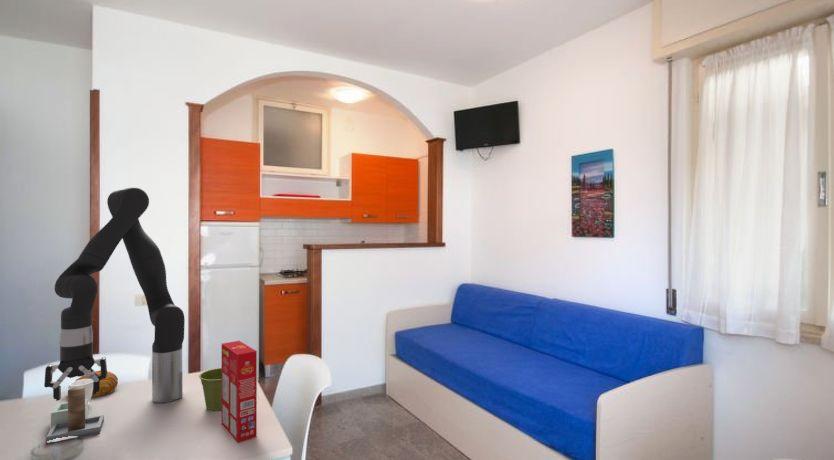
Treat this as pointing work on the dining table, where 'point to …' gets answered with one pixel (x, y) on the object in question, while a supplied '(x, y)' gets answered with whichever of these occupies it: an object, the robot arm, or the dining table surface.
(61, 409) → the pot
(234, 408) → the food packaging
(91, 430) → the tray
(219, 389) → the plant pot
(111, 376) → the croissant
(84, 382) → the cup
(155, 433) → the dining table surface
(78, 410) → the wooden dowel
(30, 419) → the dining table surface
